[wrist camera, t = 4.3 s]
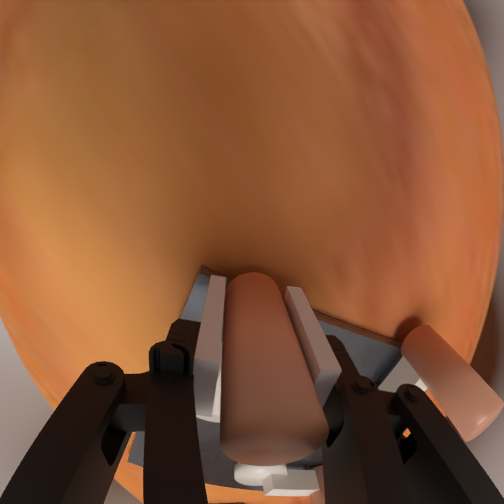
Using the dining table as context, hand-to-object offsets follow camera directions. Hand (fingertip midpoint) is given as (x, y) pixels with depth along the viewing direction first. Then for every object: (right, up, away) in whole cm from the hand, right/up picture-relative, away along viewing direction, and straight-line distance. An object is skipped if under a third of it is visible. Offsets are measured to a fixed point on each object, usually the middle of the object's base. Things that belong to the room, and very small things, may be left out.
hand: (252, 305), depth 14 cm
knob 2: (+3, -19, +7) cm, 21 cm away
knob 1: (-1, -3, +2) cm, 4 cm away
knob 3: (+10, -7, +4) cm, 13 cm away
